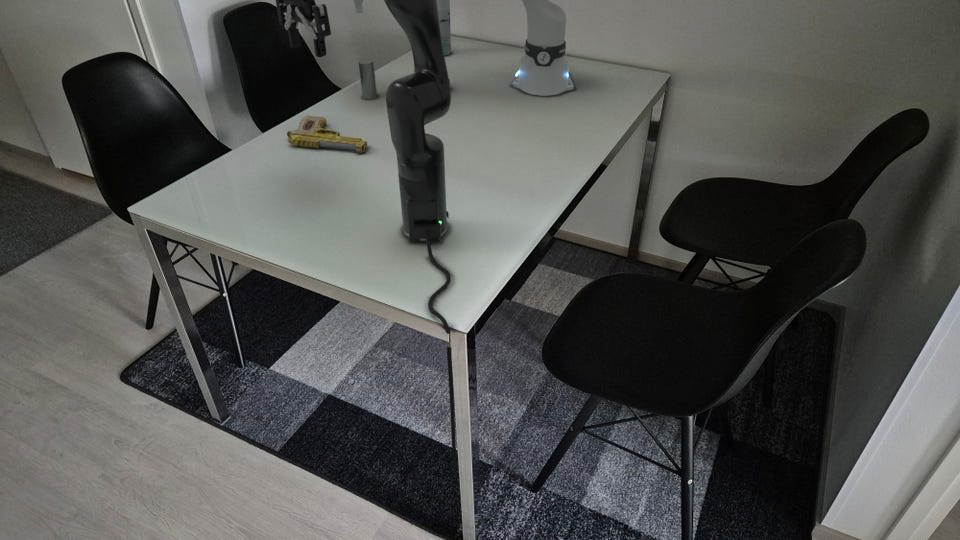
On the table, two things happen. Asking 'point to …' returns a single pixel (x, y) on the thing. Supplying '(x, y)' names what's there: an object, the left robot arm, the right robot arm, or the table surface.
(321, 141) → the handgun
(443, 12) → the spray paint can
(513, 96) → the table surface
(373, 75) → the can
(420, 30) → the left robot arm
